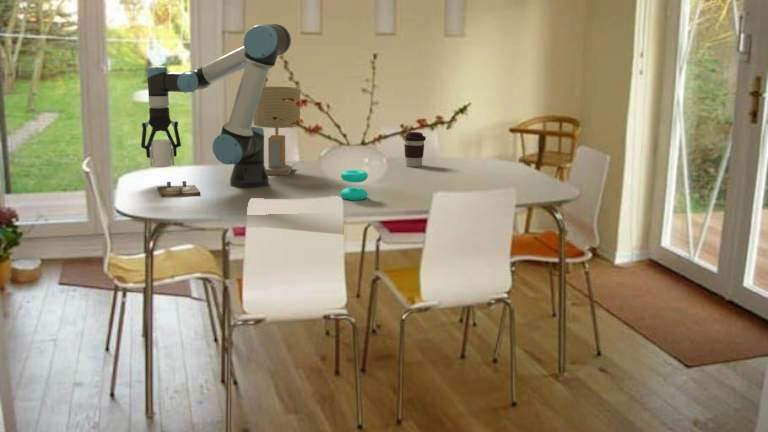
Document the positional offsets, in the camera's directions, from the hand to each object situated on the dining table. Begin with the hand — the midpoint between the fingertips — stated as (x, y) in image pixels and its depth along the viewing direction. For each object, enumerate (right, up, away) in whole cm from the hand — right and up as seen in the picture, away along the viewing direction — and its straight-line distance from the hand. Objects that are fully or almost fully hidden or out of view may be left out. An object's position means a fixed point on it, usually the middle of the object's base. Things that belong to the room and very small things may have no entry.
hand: (162, 165), depth 353 cm
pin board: (+10, -11, -14) cm, 20 cm away
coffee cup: (+100, +3, +54) cm, 114 cm away
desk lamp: (+41, -1, +33) cm, 52 cm away
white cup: (0, 0, 0) cm, 1 cm away
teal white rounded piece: (+76, -13, -16) cm, 78 cm away
